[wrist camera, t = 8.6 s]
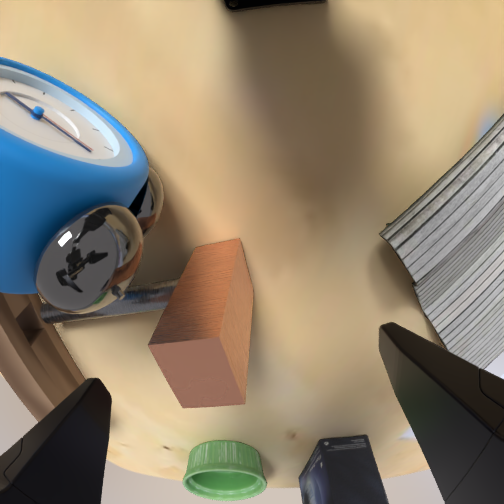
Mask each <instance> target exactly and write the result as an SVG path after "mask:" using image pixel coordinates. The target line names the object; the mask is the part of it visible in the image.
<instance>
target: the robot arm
mask: <svg viewBox="0 0 504 504" xmlns="http://www.w3.org/2000/svg"><path fill="white" fill-rule="evenodd" d="M326 1H327V0H224V2H225V6H226V9H227V10H228V11H230V12H238V11H244V10H251V9H258V8H265V7H273V6H283V5H294V4H309V3H324V2H326ZM232 2H236V3H237V4H238V5H237V6H235V7H232V6H230V4H231V3H232ZM379 351H380V354H381V357H382V360H383V362H384V365H385V368H386V370H387V373H388V376H389V379H390V382H391V384H392V387H393V390H394V393H395V395H396V397H397V399H398V401H399V403H400V405H401V407H402V409H403V411H404V413H405V416H406V418H407V420H408V422H409V424H410V426H411V428H412V430H413V432H414V434H415V436H416V439H417V441H418V443H419V445H420V447H421V449H422V452H423V454H424V456H425V458H426V460H427V463H428V465H429V467H430V469H431V472H432V474H433V476H434V478H435V481H436V483H437V485H438V488H439V490H440V492H441V495H442V497H443V500H444V501H445V504H504V379H502V378H500V377H498V376H496V375H494V374H491V373H490V372H488V371H486V370H484V369H482V368H479V367H478V366H476V365H474V364H472V363H470V362H468V361H466V360H465V359H463V358H461V357H459V356H457V355H455V354H453V353H451V352H449V351H447V350H446V349H444V348H442V347H440V346H438V345H436V344H434V343H432V342H430V341H428V340H426V339H424V338H423V337H421V336H419V335H417V334H415V333H413V332H411V331H409V330H407V329H405V328H403V327H401V326H400V325H398V324H396V323H394V322H389V323H386V324H383V325H381V326H380V327H379ZM111 404H112V398H111V395H110V393H109V391H108V390H107V389H106V387H105V386H104V384H103V383H102V381H101V380H100V379H99V378H88V379H87V380H85V381H84V382H83V383H82V384H81V385H80V386H79V387H77V388H76V389H75V390H74V391H73V392H72V393H71V394H70V395H69V396H67V397H66V398H65V399H64V400H63V401H62V402H61V403H60V404H58V405H57V406H56V407H55V408H54V409H53V410H52V411H51V412H50V413H48V414H47V415H46V416H45V417H44V418H43V419H42V420H41V421H40V422H38V424H36V425H35V426H34V427H33V428H32V429H31V430H30V431H29V432H28V433H26V434H25V435H24V436H23V438H21V439H20V440H19V441H18V442H16V443H15V444H14V445H13V446H12V447H11V448H10V449H8V450H7V451H6V452H5V453H3V454H2V455H1V456H0V504H101V495H102V486H103V478H104V470H105V463H106V456H107V449H108V442H109V433H110V417H111Z"/></svg>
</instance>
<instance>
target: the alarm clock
mask: <svg viewBox="0 0 504 504" xmlns="http://www.w3.org/2000/svg"><path fill="white" fill-rule="evenodd" d="M163 202H164V193H163V185H162V182H161V180H160V177H159V176H158V175H157V173H156V172H155V171H154V169H152V168H151V167H150V166H149V163H148V160H147V157H146V155H145V152H144V151H143V149H142V147H141V146H140V144H139V143H138V141H137V140H136V139H135V138H134V137H133V135H132V134H131V133H130V132H129V131H128V130H127V129H126V128H125V127H124V126H123V125H122V124H121V123H120V122H119V121H117V120H116V119H115V118H114V117H113V116H112V115H110V114H109V113H108V112H107V111H105V110H104V109H103V108H101V107H100V106H99V105H97V104H96V103H95V102H93V101H92V100H90V99H89V98H87V97H86V96H84V95H83V94H81V93H80V92H78V91H76V90H75V89H73V88H72V87H70V86H68V85H66V84H65V83H63V82H61V81H59V80H57V79H55V78H53V77H51V76H49V75H47V74H45V73H43V72H41V71H39V70H37V69H34V68H32V67H29V66H27V65H24V64H22V63H19V62H16V61H13V60H10V59H6V58H3V57H0V292H2V293H9V294H35V293H39V294H40V295H41V297H42V298H43V299H44V300H45V301H46V302H47V303H48V304H49V305H50V306H52V307H54V308H55V309H57V310H59V311H62V312H65V313H70V314H84V313H89V312H93V311H96V310H99V309H101V308H103V307H105V306H107V305H108V304H110V303H112V302H113V301H114V300H116V299H117V298H118V299H119V300H121V299H123V298H124V296H125V294H124V293H123V292H124V291H125V290H126V289H127V288H128V286H129V285H130V283H131V282H132V280H133V279H134V277H135V275H136V273H137V271H138V269H139V266H140V263H141V260H142V255H143V246H144V242H143V238H144V237H146V236H147V235H148V234H149V233H150V232H151V230H152V229H153V228H154V226H155V225H156V223H157V221H158V219H159V217H160V214H161V211H162V207H163Z"/></svg>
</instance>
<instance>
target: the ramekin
mask: <svg viewBox="0 0 504 504" xmlns="http://www.w3.org/2000/svg"><path fill="white" fill-rule="evenodd" d="M183 485H184V487H185V488H186V489H187V490H188V491H190V492H191V493H193V494H195V495H197V496H200V497H203V498H207V499H212V500H220V501H235V500H243V499H248V498H251V497H254V496H256V495H258V494H260V493H262V492H263V491H264V490H265V489H266V486H267V482H266V479H265V477H264V475H263V470H262V465H261V460H260V456H259V454H258V452H257V451H256V450H255V449H254V448H252V447H251V446H249V445H246V444H244V443H240V442H235V441H226V440H218V441H209V442H205V443H202V444H200V445H198V446H196V447H195V448H193V449H192V451H191V453H190V455H189V460H188V466H187V471H186V474H185V476H184V478H183Z"/></svg>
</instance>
